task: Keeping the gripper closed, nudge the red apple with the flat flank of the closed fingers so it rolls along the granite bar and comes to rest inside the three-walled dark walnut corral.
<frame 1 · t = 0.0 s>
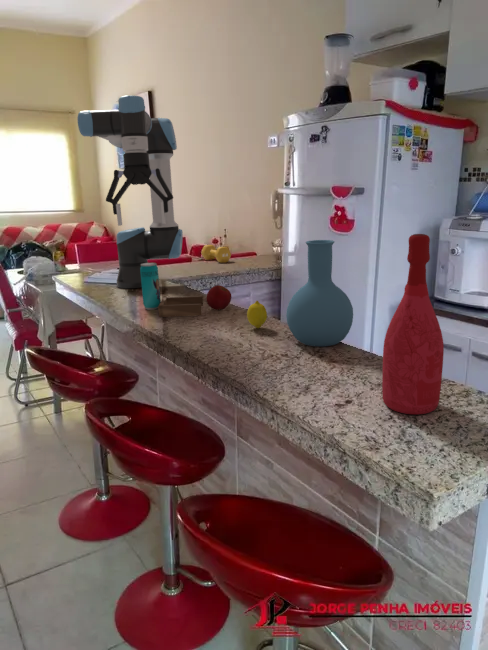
hand: (142, 224, 157), 28 cm above the table, fingers open, 13 cm apart
beverage can: (152, 308, 169), on the table
wine bottle: (409, 406, 89), on the table
vase: (319, 341, 128), on the table
apple: (219, 310, 164), on the table
corral: (182, 311, 163), on the table
fruit: (257, 329, 141), on the table
dumbbell: (216, 261, 272), on the table
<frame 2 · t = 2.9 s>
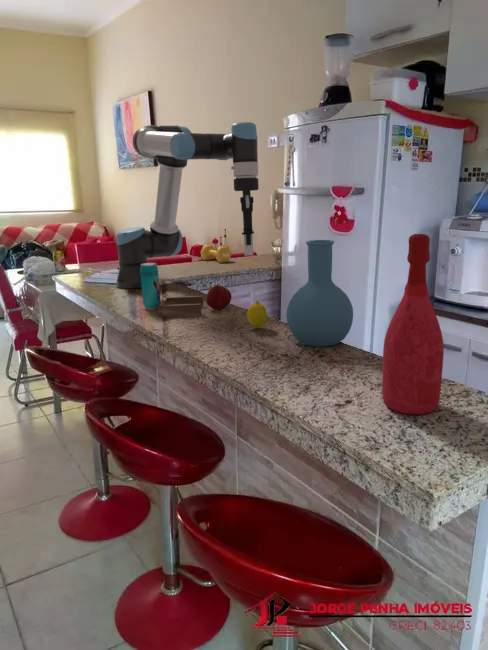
hand: (248, 255, 159), 17 cm above the table, fingers closed
nothing on the table moved.
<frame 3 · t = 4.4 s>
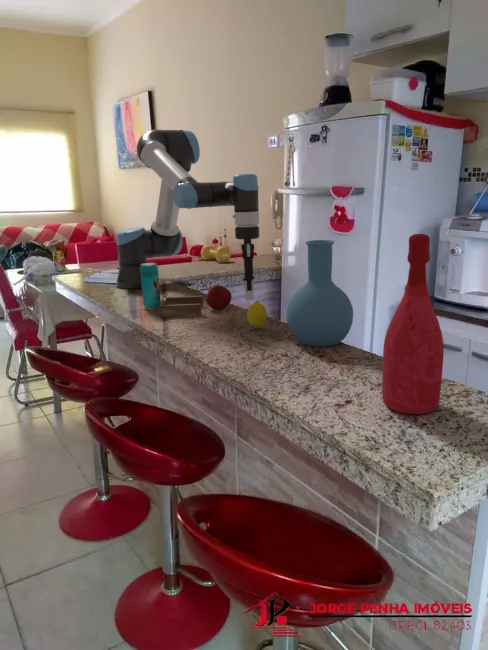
hand: (249, 299, 163), 3 cm above the table, fingers closed
nothing on the table moved.
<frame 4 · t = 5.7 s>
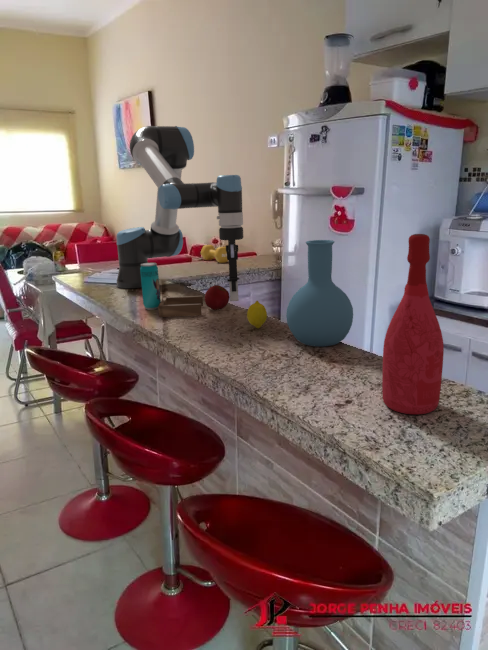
hand: (234, 300, 163), 3 cm above the table, fingers closed
apple: (217, 310, 164), on the table, touching gripper
everything else where it was.
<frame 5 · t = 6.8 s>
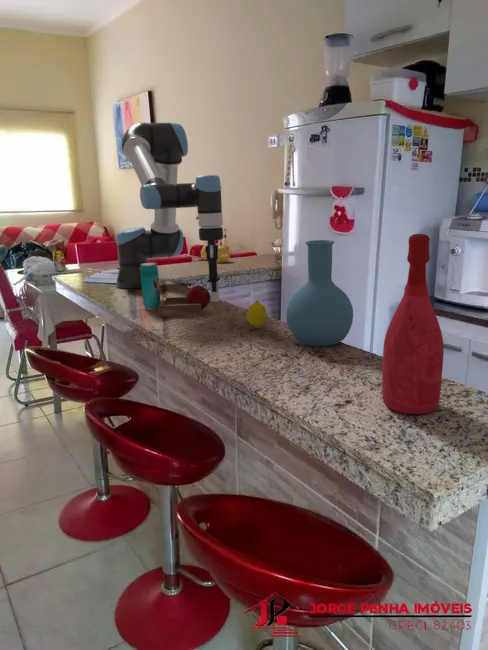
hand: (214, 301, 163), 3 cm above the table, fingers closed
apple: (198, 310, 164), on the table, touching gripper
everything else where it was.
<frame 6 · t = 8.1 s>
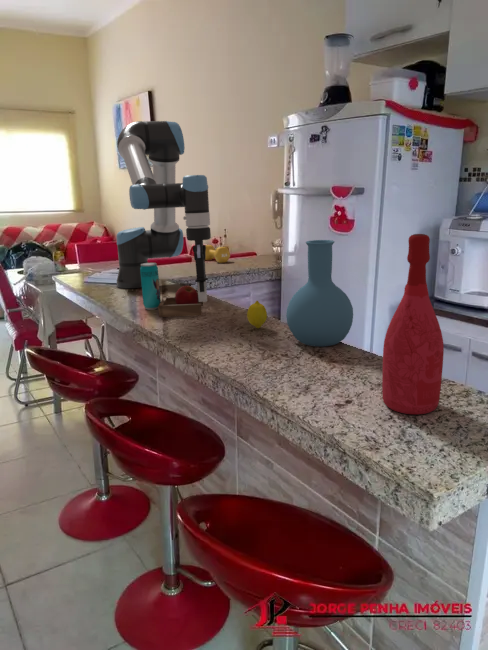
hand: (202, 301, 162), 3 cm above the table, fingers closed
apple: (187, 310, 165), on the table, touching corral, gripper
everything else where it was.
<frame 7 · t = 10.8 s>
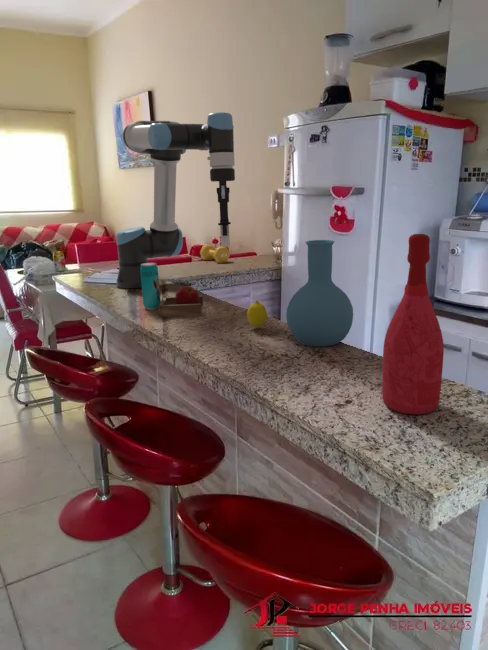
hand: (225, 245, 160), 20 cm above the table, fingers closed
apple: (187, 310, 165), on the table
everything else where it was.
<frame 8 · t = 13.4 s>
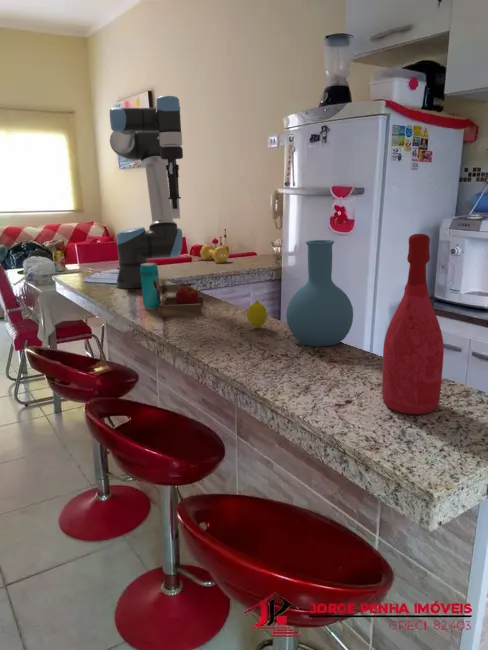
hand: (176, 218, 175), 28 cm above the table, fingers closed
at the end: apple inside the target area on the corral (3.5 cm from its centre), point 0.0 cm above the corral's base; apple moved 10.4 cm from its start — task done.
